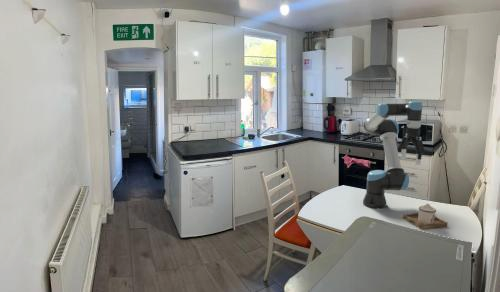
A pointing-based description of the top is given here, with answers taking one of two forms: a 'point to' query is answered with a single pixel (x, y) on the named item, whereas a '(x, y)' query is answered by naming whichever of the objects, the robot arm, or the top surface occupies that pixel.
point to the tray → (414, 220)
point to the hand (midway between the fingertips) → (410, 161)
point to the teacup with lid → (426, 214)
